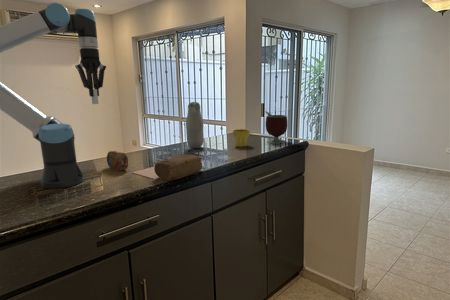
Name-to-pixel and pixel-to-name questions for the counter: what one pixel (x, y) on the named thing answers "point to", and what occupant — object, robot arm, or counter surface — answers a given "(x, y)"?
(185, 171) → the block
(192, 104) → the grey bottle
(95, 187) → the counter surface
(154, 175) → the pad
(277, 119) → the mate gourd
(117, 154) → the mottled brown rounded slab
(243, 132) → the plant pot
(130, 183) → the counter surface
